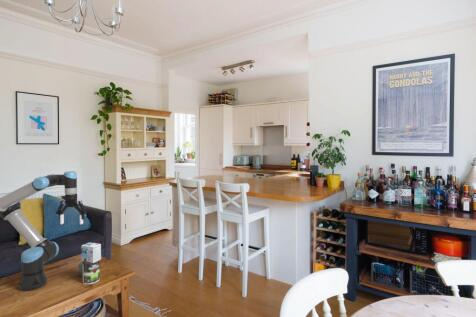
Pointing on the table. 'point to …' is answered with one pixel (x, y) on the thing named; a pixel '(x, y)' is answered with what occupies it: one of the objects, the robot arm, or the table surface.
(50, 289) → the table surface
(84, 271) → the coffee can
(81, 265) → the grey domed cylinder
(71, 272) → the table surface
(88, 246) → the light bulb box
